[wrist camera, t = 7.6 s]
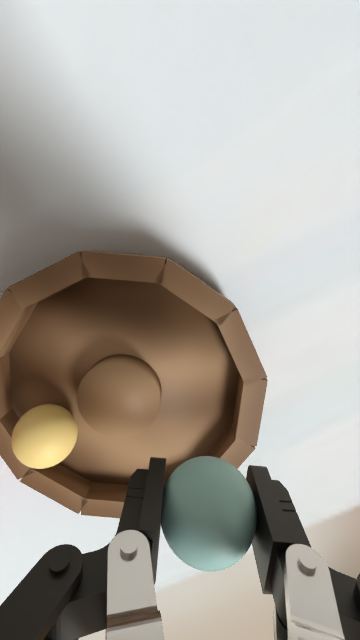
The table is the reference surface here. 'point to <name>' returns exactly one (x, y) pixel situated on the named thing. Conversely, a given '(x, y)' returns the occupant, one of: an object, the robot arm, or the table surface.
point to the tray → (126, 373)
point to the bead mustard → (44, 436)
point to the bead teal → (208, 513)
